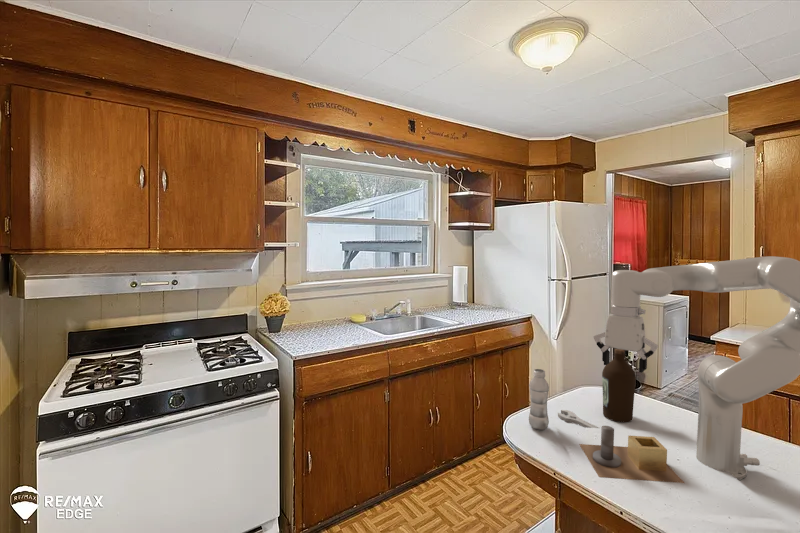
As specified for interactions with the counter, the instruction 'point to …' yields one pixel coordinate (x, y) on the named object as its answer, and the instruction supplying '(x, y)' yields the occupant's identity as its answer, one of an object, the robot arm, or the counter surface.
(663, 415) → the counter surface
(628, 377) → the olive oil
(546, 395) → the plastic bottle
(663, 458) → the brass collar
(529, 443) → the counter surface
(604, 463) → the shaft board
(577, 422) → the adjustable wrench
